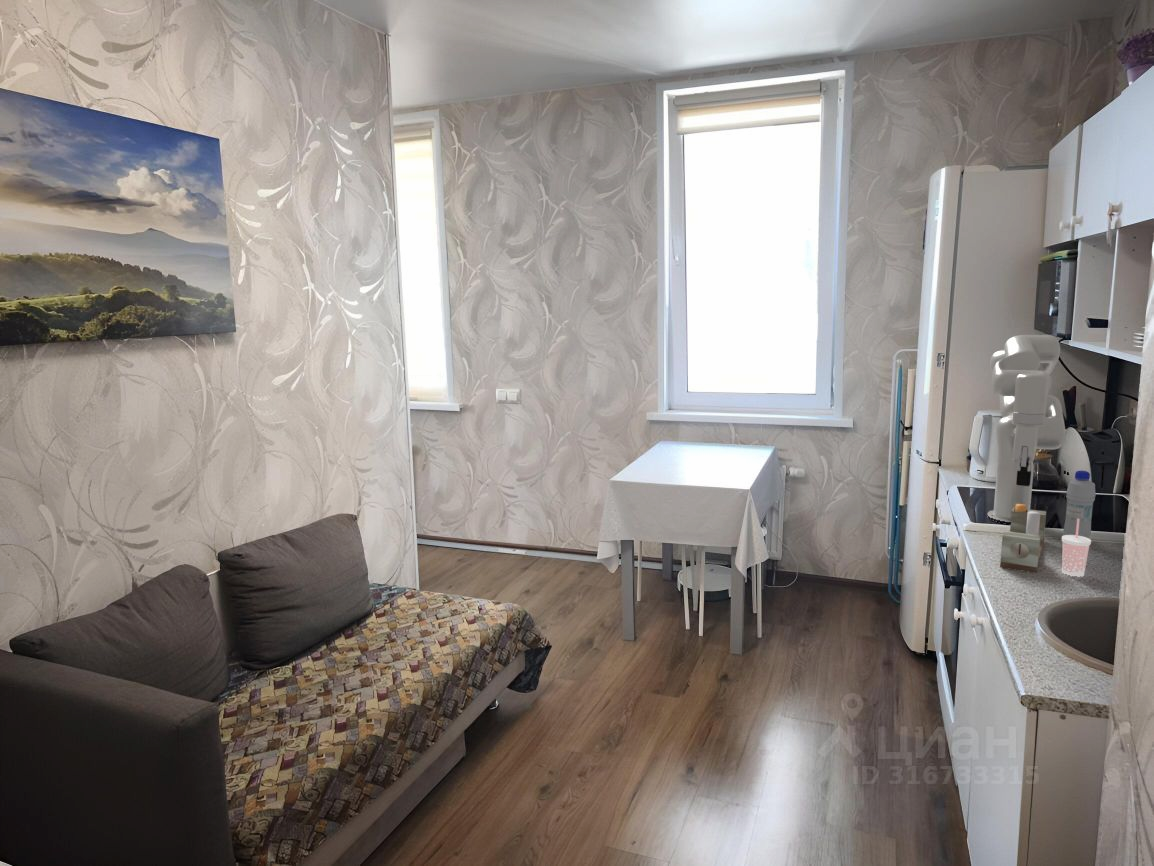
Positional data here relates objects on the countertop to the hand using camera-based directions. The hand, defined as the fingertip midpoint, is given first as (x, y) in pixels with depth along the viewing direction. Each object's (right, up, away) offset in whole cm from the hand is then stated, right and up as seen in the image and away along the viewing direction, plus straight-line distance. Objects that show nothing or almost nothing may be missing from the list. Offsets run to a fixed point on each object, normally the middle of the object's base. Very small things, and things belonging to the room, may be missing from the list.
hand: (1023, 485), depth 212 cm
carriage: (-8, -16, -13) cm, 22 cm away
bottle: (+15, -16, +1) cm, 22 cm away
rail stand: (-4, -18, -7) cm, 20 cm away
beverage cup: (0, -21, -22) cm, 30 cm away
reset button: (0, -10, +2) cm, 10 cm away
